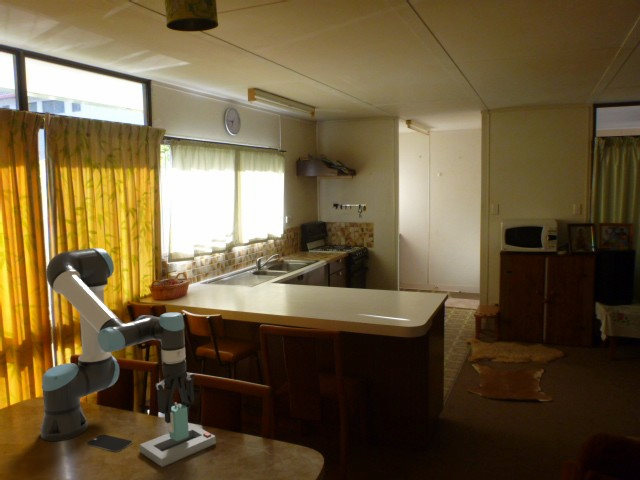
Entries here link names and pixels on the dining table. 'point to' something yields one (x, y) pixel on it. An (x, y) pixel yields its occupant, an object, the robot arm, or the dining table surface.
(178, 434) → the block
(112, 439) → the smartphone
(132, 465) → the dining table surface
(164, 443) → the grey slotted tray
